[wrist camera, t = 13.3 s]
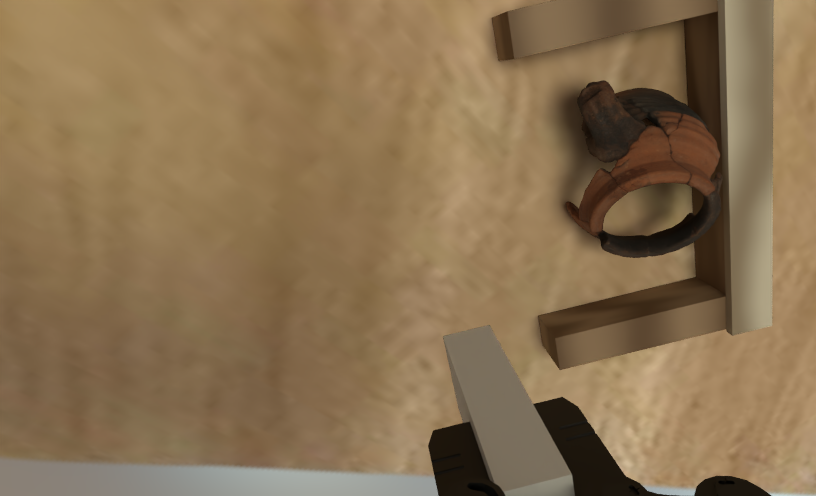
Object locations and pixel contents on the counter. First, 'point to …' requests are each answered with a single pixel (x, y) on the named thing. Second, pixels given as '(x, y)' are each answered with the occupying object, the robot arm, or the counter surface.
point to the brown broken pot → (645, 163)
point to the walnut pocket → (740, 189)
